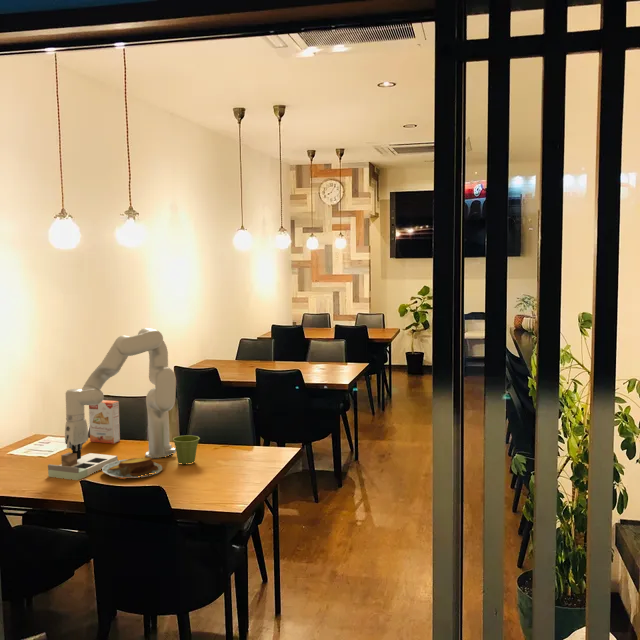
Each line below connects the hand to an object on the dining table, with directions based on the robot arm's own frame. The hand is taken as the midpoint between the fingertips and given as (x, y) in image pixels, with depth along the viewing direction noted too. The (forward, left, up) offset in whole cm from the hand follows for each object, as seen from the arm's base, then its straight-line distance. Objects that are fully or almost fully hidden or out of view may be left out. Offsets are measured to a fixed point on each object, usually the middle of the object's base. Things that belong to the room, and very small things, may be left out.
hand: (76, 458), depth 289 cm
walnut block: (0, +4, -1) cm, 5 cm away
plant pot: (-41, -23, -5) cm, 47 cm away
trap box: (-4, 0, -4) cm, 6 cm away
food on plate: (-27, -3, -5) cm, 27 cm away
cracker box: (+18, -42, -5) cm, 45 cm away
